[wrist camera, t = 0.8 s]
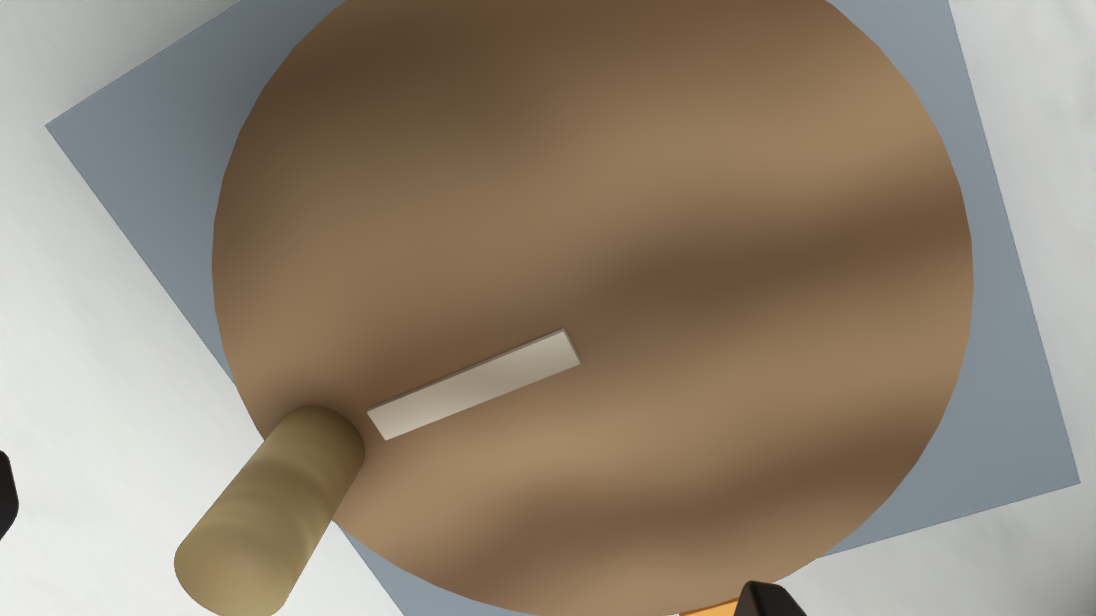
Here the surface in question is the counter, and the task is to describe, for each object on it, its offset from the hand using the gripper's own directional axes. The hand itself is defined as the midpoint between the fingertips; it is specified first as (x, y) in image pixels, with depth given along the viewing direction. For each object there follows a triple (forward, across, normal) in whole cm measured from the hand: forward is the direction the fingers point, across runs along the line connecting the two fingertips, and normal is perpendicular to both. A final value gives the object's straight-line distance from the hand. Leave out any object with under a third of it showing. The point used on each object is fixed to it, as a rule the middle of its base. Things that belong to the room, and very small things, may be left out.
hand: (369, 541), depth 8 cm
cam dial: (+12, -2, +2) cm, 12 cm away
